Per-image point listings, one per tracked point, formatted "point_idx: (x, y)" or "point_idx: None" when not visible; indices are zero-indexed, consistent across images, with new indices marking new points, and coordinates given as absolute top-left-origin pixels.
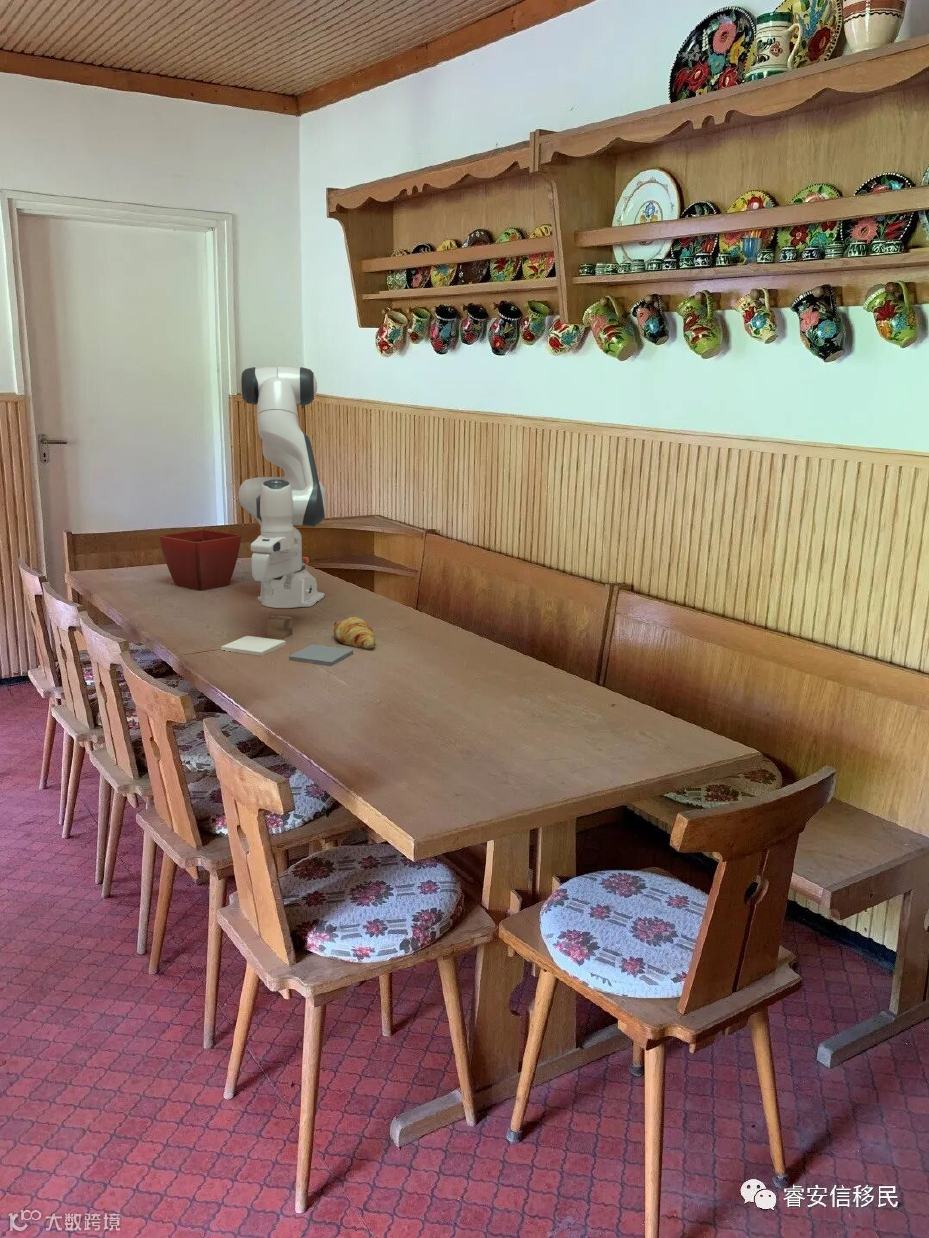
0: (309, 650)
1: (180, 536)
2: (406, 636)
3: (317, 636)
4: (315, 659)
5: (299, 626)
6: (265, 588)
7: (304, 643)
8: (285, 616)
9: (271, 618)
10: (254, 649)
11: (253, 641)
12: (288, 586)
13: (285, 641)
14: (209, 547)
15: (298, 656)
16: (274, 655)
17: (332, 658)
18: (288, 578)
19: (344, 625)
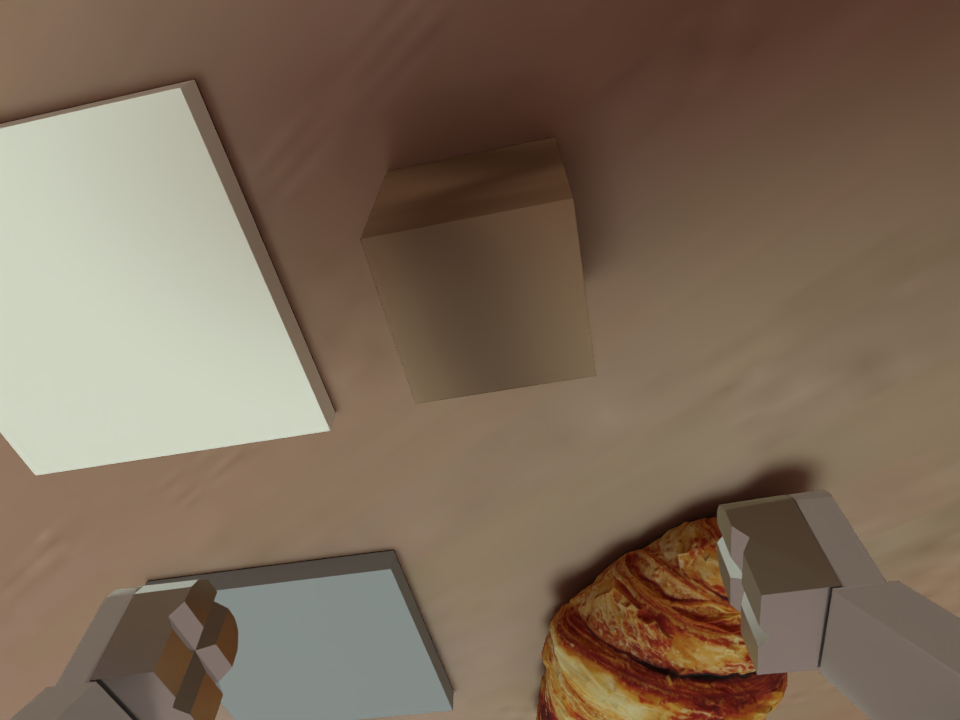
0: (292, 611)
1: None
2: (850, 707)
3: (629, 442)
4: None
5: (853, 160)
6: (42, 714)
7: (439, 474)
8: (587, 309)
9: (425, 254)
10: (24, 411)
11: (125, 275)
12: (743, 604)
13: (328, 428)
14: None
15: None
16: (128, 495)
17: (283, 714)
18: (915, 705)
19: (597, 707)
